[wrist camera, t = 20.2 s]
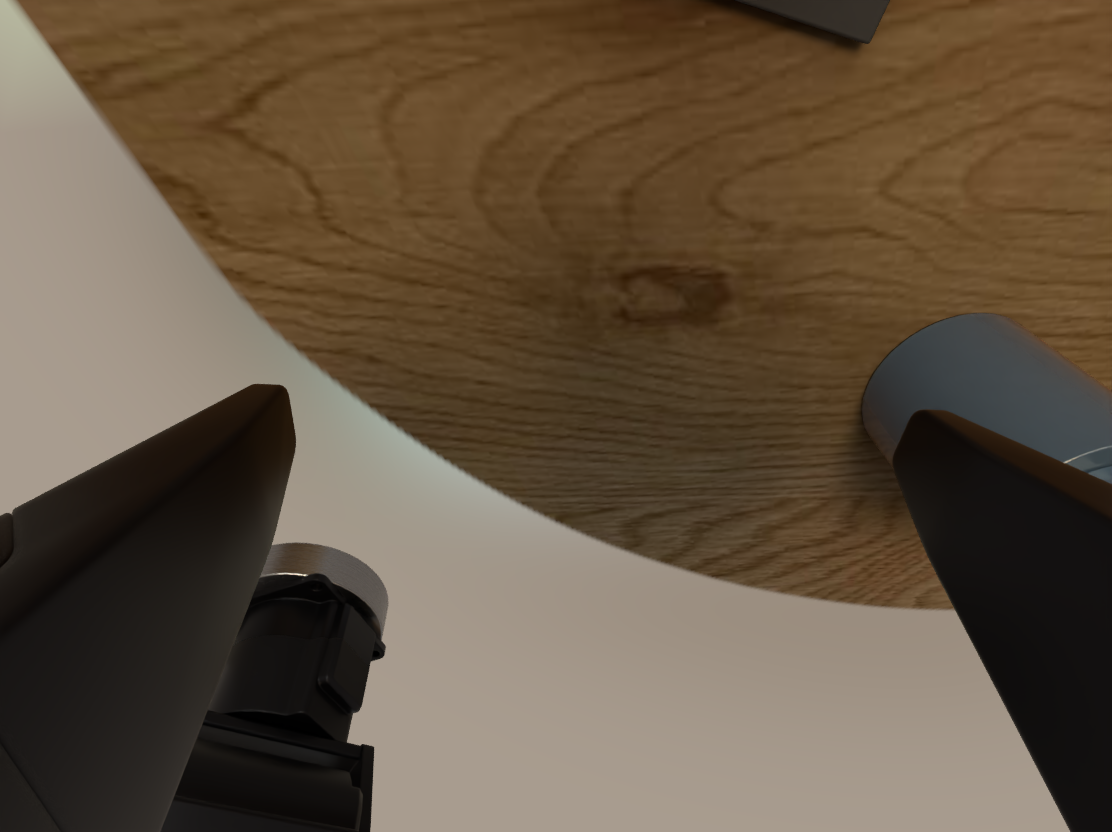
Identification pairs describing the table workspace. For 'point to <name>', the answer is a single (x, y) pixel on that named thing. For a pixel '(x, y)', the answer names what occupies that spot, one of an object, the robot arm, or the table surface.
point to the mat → (830, 15)
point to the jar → (993, 390)
